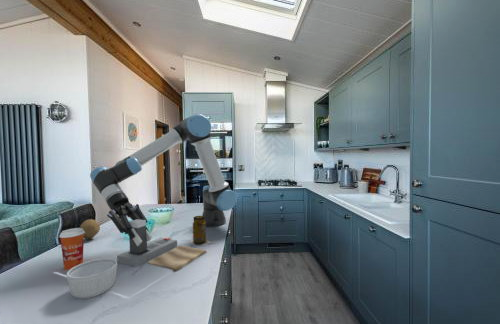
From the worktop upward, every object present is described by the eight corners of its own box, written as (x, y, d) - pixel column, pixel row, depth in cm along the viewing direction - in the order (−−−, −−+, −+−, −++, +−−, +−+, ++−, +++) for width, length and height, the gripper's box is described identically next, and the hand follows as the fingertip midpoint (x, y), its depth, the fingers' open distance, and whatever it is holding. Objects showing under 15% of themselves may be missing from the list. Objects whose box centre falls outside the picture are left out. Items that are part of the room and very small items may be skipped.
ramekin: (61, 306, 67) (60, 281, 67) (74, 283, 79) (73, 262, 79) (115, 294, 72) (114, 271, 72) (119, 274, 84) (119, 255, 84)
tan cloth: (180, 247, 108) (180, 245, 108) (206, 252, 102) (206, 250, 102) (147, 264, 92) (147, 261, 92) (176, 271, 86) (176, 268, 86)
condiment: (202, 238, 120) (202, 214, 119) (211, 242, 113) (210, 217, 113) (189, 241, 115) (188, 216, 115) (197, 246, 109) (196, 220, 108)
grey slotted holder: (160, 243, 113) (160, 236, 113) (177, 246, 109) (177, 239, 109) (117, 263, 93) (117, 254, 93) (135, 267, 89) (134, 258, 89)
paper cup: (58, 274, 85) (56, 235, 85) (63, 265, 92) (61, 229, 92) (84, 269, 89) (83, 231, 88) (87, 261, 96) (86, 226, 95)
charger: (138, 248, 99) (137, 219, 99) (147, 249, 97) (145, 220, 97) (129, 251, 96) (128, 221, 95) (138, 253, 93) (137, 223, 93)
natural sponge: (104, 237, 124) (103, 218, 123) (86, 243, 116) (85, 222, 116) (94, 235, 128) (93, 216, 128) (75, 240, 120) (74, 220, 120)
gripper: (129, 199, 110) (157, 240, 103) (90, 207, 95) (120, 255, 88) (136, 188, 108) (166, 229, 101) (98, 194, 92) (130, 243, 86)
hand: (144, 241), depth 95 cm, fingers closed on charger, 4 cm apart
